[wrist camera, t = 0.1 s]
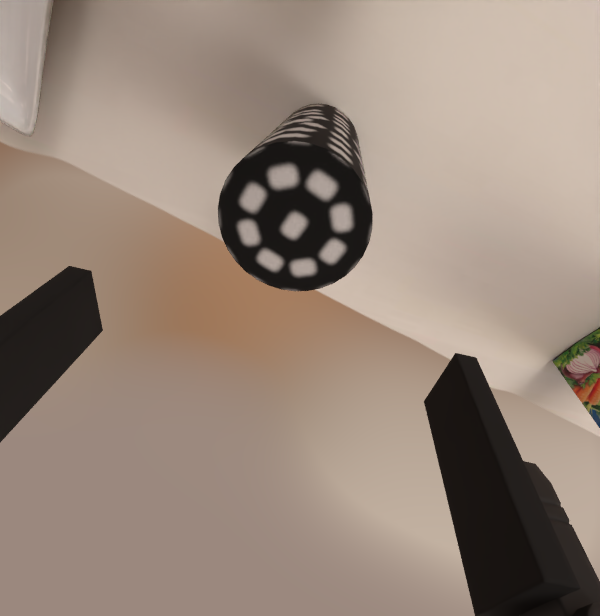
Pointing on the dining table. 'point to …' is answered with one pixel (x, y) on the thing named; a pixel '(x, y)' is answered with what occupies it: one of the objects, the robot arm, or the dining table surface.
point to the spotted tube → (299, 203)
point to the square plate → (22, 60)
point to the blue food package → (584, 372)
